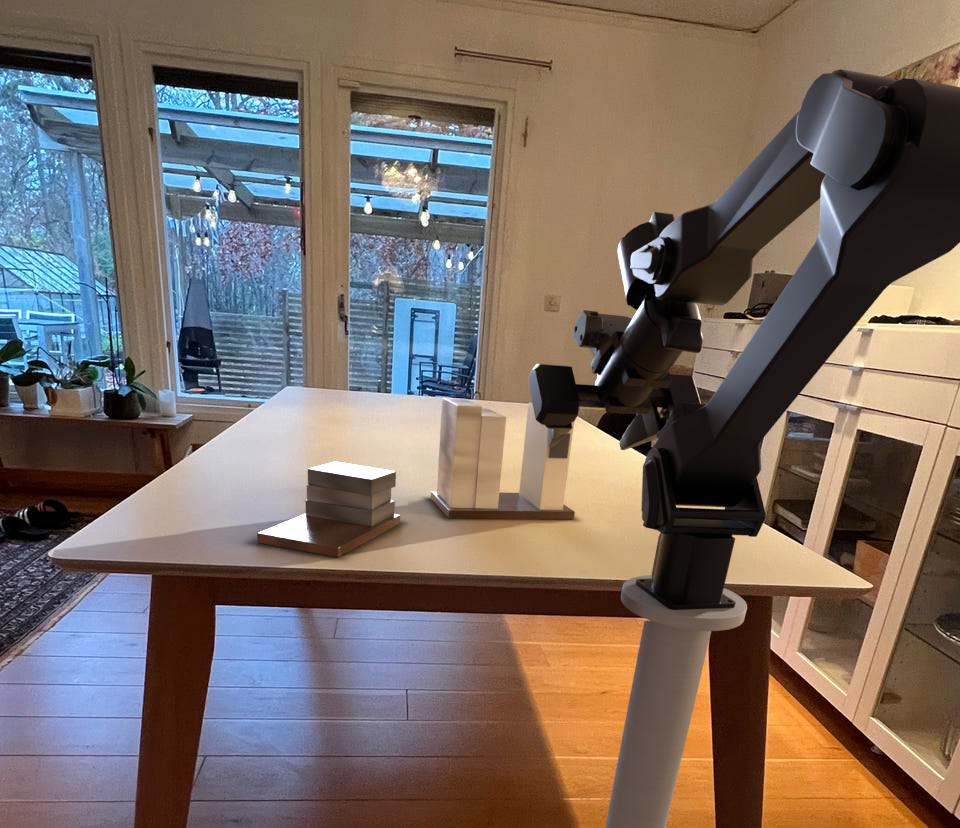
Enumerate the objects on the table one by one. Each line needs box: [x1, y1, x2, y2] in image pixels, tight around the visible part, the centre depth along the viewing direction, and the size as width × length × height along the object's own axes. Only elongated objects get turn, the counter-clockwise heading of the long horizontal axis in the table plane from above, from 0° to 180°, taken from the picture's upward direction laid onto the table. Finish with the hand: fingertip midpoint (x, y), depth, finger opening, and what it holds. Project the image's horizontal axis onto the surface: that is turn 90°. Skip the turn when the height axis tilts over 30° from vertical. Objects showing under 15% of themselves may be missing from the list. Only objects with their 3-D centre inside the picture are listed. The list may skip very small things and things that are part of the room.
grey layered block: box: [256, 461, 401, 558], centre depth 76 cm, size 9×15×6 cm, turn 162°
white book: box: [518, 402, 575, 510], centre depth 92 cm, size 8×3×12 cm, turn 16°
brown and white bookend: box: [430, 397, 576, 520], centre depth 91 cm, size 10×16×13 cm, turn 106°
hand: (585, 445), depth 83 cm, fingers open, 9 cm apart
